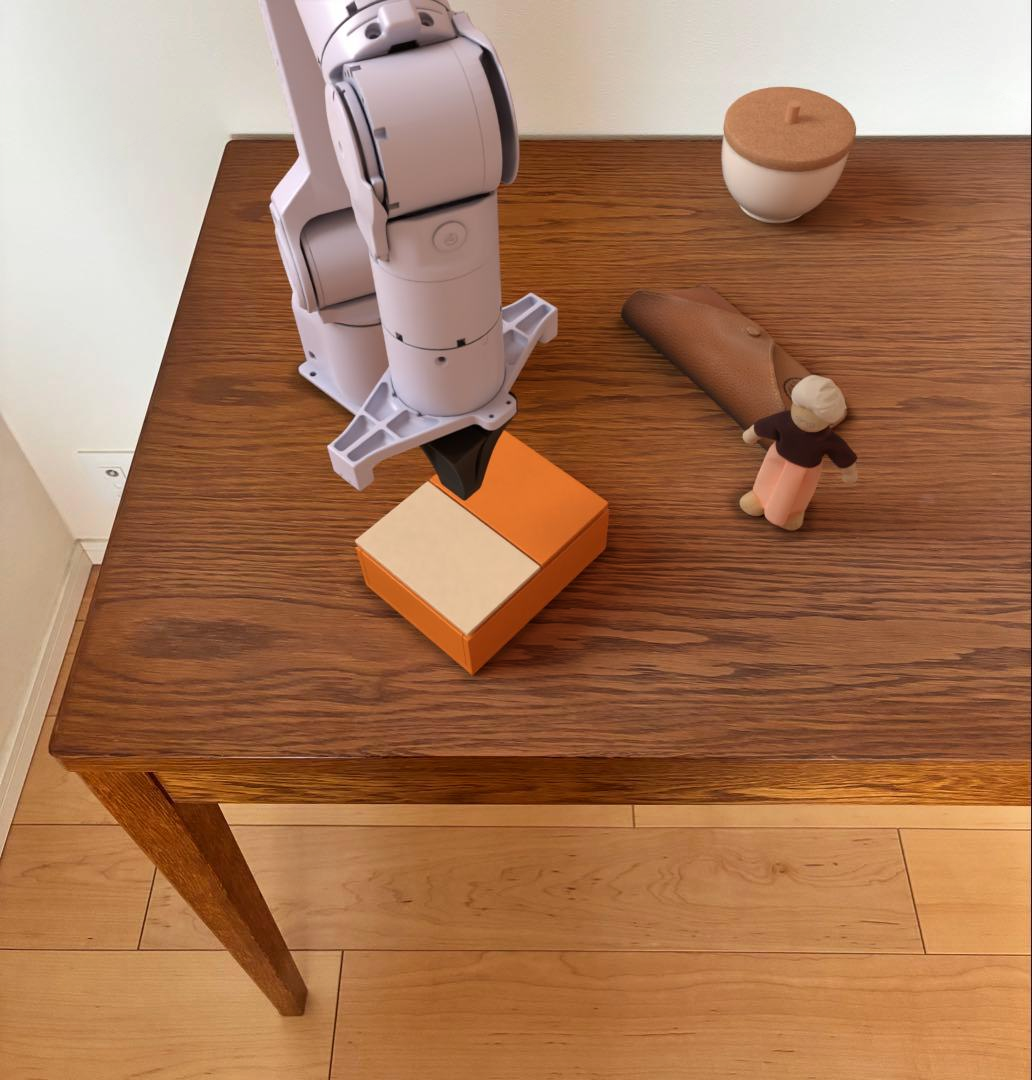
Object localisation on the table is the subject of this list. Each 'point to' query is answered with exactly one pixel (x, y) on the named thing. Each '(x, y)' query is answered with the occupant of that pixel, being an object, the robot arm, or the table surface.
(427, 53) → the robot arm
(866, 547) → the table surface
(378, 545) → the flap
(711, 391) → the sunglasses case
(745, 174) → the trinket box
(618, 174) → the table surface
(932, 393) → the table surface
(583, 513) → the orange flip-lid box
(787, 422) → the grandmother figurine
